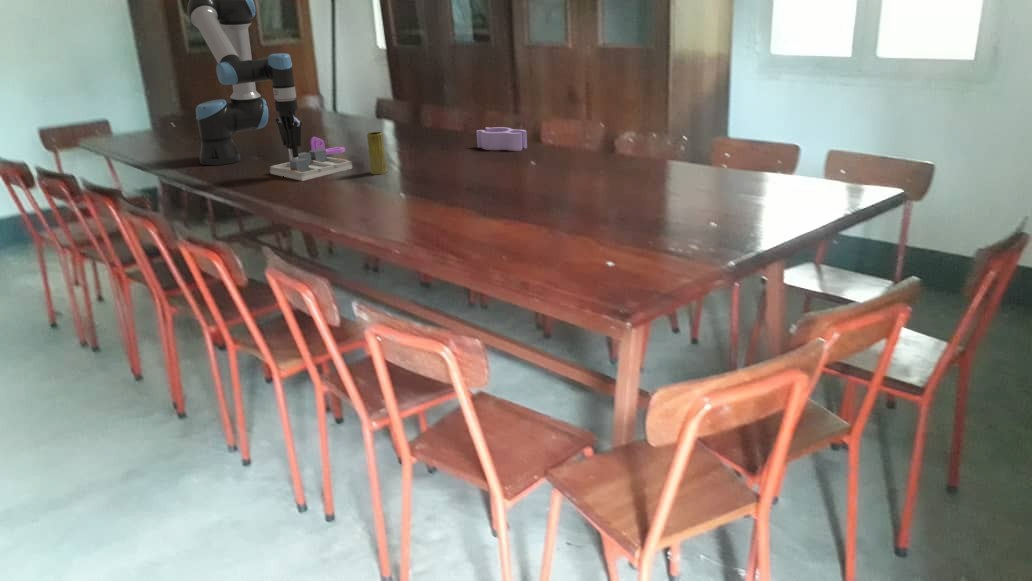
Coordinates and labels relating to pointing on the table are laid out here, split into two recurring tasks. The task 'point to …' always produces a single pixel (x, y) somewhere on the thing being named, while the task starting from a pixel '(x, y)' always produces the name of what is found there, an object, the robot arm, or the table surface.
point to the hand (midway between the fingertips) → (295, 165)
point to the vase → (376, 153)
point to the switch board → (312, 169)
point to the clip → (501, 139)
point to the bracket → (319, 144)
